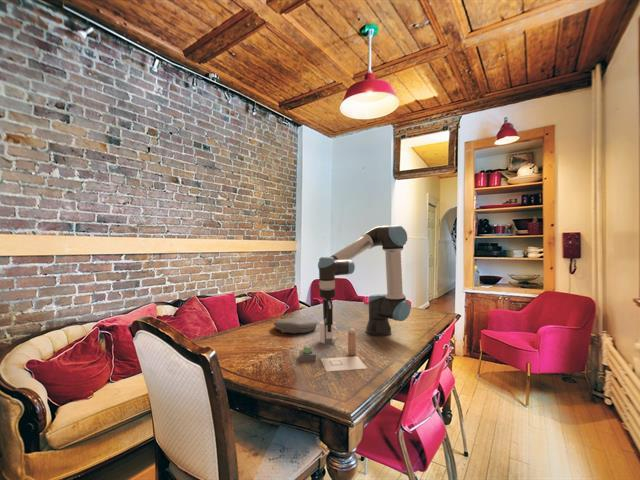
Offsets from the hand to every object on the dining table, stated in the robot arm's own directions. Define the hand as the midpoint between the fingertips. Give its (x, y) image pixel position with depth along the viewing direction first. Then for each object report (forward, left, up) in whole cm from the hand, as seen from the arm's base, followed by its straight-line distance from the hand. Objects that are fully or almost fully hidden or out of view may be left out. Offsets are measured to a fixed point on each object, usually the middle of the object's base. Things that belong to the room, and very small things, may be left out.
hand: (328, 336), depth 147 cm
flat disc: (+11, -48, -10) cm, 50 cm away
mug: (-4, -19, -9) cm, 21 cm away
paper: (-5, +11, -9) cm, 15 cm away
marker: (0, 0, -3) cm, 3 cm away
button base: (+10, +2, -9) cm, 14 cm away
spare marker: (-12, +1, -9) cm, 15 cm away
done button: (+10, +2, -8) cm, 13 cm away
